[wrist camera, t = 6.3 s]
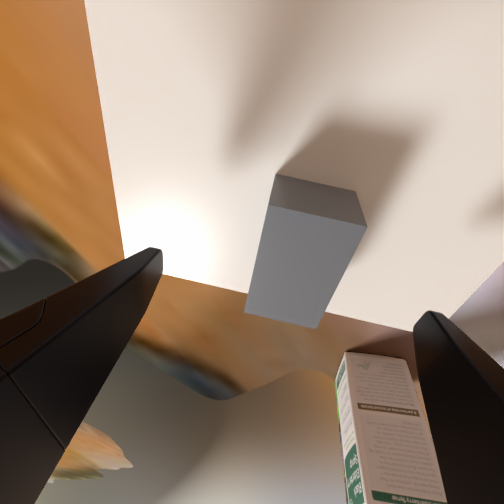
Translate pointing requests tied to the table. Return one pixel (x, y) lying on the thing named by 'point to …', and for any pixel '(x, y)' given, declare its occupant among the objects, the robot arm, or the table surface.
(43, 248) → the table surface
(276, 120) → the carton lid
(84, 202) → the table surface
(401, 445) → the syrup box
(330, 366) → the table surface
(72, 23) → the table surface
